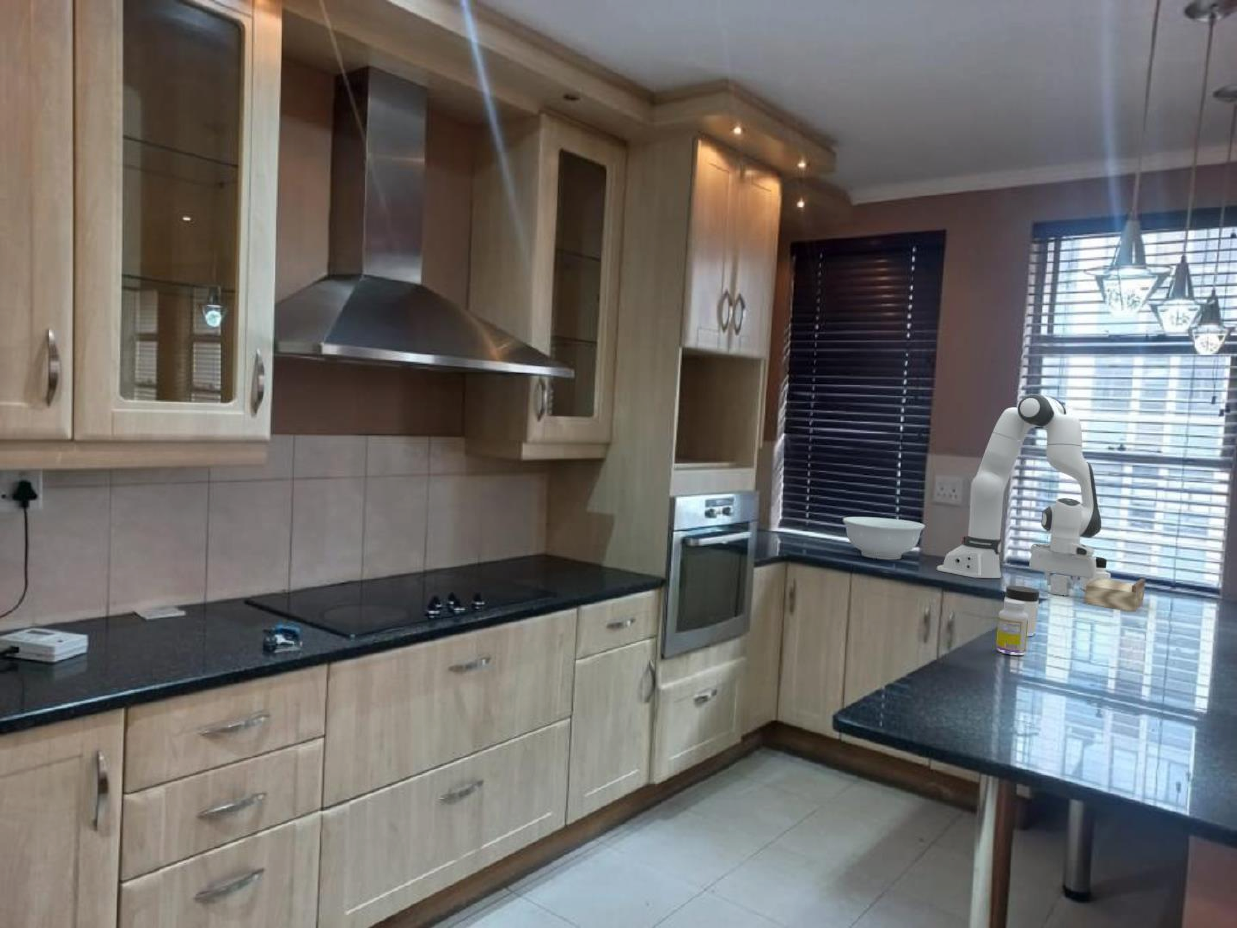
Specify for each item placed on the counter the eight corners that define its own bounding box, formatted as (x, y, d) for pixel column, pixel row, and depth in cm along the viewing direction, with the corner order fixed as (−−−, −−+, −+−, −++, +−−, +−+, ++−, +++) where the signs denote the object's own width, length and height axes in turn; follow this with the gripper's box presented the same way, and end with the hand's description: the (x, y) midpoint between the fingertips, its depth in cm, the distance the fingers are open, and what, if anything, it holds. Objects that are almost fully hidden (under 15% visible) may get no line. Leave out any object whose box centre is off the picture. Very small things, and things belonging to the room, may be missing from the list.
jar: (1043, 635, 229) (1047, 591, 229) (1022, 637, 226) (1026, 593, 225) (1015, 627, 237) (1018, 584, 237) (994, 629, 234) (998, 585, 233)
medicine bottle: (1099, 589, 305) (1103, 556, 304) (1109, 593, 298) (1112, 559, 297) (1078, 588, 306) (1082, 554, 305) (1087, 592, 299) (1091, 558, 298)
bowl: (824, 552, 351) (827, 517, 351) (866, 547, 374) (869, 514, 373) (896, 566, 328) (899, 528, 327) (936, 560, 350) (939, 524, 349)
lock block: (1049, 593, 291) (1051, 575, 290) (1053, 591, 295) (1054, 574, 294) (1065, 595, 288) (1067, 578, 287) (1069, 593, 292) (1070, 576, 291)
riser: (1084, 603, 278) (1086, 579, 277) (1095, 595, 293) (1097, 572, 293) (1134, 611, 269) (1136, 586, 269) (1142, 602, 285) (1145, 579, 284)
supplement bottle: (1010, 648, 214) (1014, 598, 213) (1031, 656, 208) (1036, 604, 207) (989, 649, 211) (993, 598, 211) (1010, 657, 205) (1014, 604, 204)
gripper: (1028, 542, 294) (1025, 582, 295) (1095, 552, 281) (1091, 593, 282) (1033, 541, 299) (1029, 580, 300) (1099, 550, 286) (1095, 591, 287)
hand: (1060, 586), depth 291 cm, fingers closed on lock block, 5 cm apart
